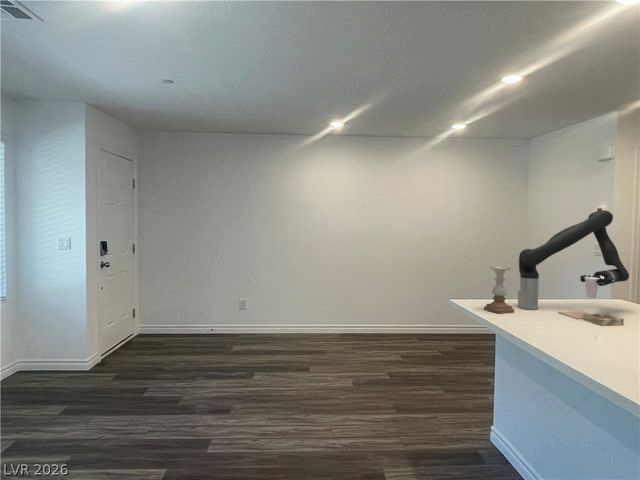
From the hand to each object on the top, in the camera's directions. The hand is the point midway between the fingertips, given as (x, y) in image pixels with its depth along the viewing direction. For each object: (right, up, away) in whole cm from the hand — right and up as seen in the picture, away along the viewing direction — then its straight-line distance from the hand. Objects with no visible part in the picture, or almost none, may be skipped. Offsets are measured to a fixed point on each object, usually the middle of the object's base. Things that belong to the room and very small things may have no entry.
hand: (590, 280), depth 201 cm
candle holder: (-36, -19, +20) cm, 45 cm away
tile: (+1, -19, +10) cm, 22 cm away
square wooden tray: (+3, -20, -4) cm, 21 cm away
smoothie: (+2, -9, +2) cm, 9 cm away
